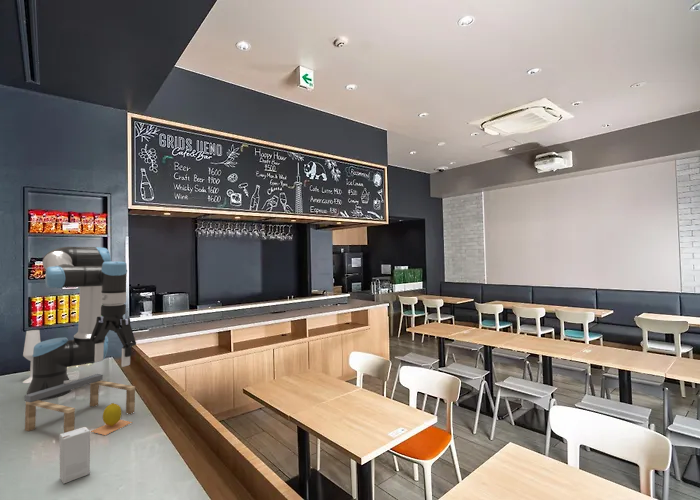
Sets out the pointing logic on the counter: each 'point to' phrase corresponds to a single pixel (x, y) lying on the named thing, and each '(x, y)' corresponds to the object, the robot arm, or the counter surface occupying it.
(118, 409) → the lemon
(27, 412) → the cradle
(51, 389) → the bar
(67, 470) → the skincare box
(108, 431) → the pad
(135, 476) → the counter surface
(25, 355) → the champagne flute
